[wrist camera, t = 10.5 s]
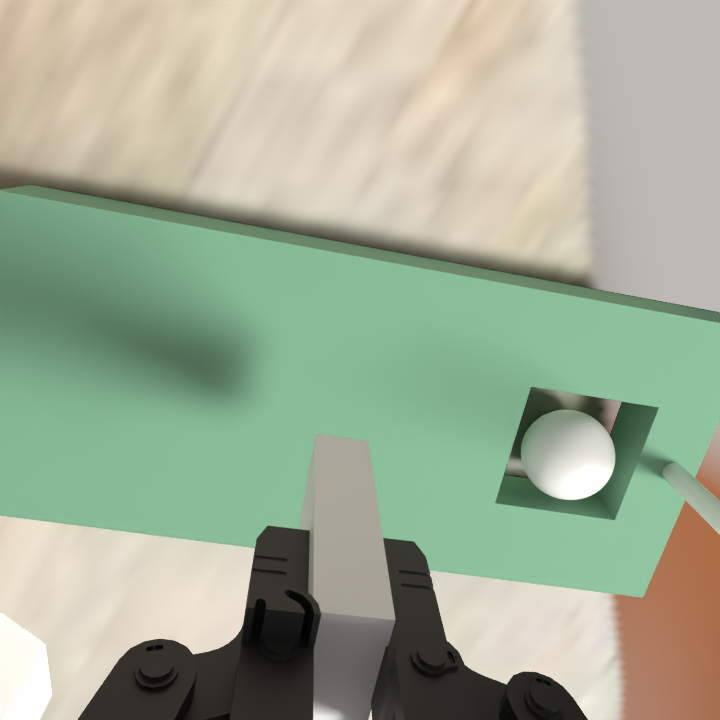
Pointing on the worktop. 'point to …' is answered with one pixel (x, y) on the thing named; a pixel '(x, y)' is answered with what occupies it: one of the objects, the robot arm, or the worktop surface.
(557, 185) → the worktop surface
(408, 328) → the putting strip
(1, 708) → the mug
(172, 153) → the worktop surface
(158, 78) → the worktop surface
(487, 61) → the worktop surface
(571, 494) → the ball
